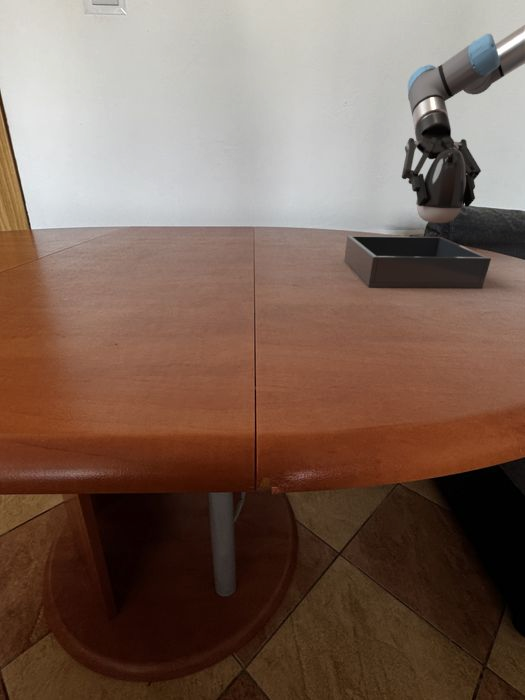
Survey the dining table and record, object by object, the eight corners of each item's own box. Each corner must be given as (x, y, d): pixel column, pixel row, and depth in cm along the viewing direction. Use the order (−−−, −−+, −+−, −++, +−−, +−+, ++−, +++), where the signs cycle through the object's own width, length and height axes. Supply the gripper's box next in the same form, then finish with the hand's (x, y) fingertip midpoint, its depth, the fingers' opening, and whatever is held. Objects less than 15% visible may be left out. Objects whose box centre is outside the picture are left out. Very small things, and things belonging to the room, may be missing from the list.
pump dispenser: (411, 222, 86) (426, 147, 79) (413, 216, 95) (427, 148, 88) (460, 226, 83) (480, 147, 76) (458, 219, 91) (475, 148, 84)
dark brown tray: (436, 261, 75) (441, 236, 73) (482, 288, 61) (491, 258, 58) (344, 260, 74) (347, 235, 72) (368, 287, 60) (373, 257, 57)
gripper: (468, 139, 95) (485, 213, 88) (379, 137, 94) (390, 212, 87) (486, 112, 88) (506, 191, 81) (390, 110, 87) (403, 189, 80)
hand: (446, 202), depth 84 cm, fingers closed on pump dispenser, 10 cm apart
